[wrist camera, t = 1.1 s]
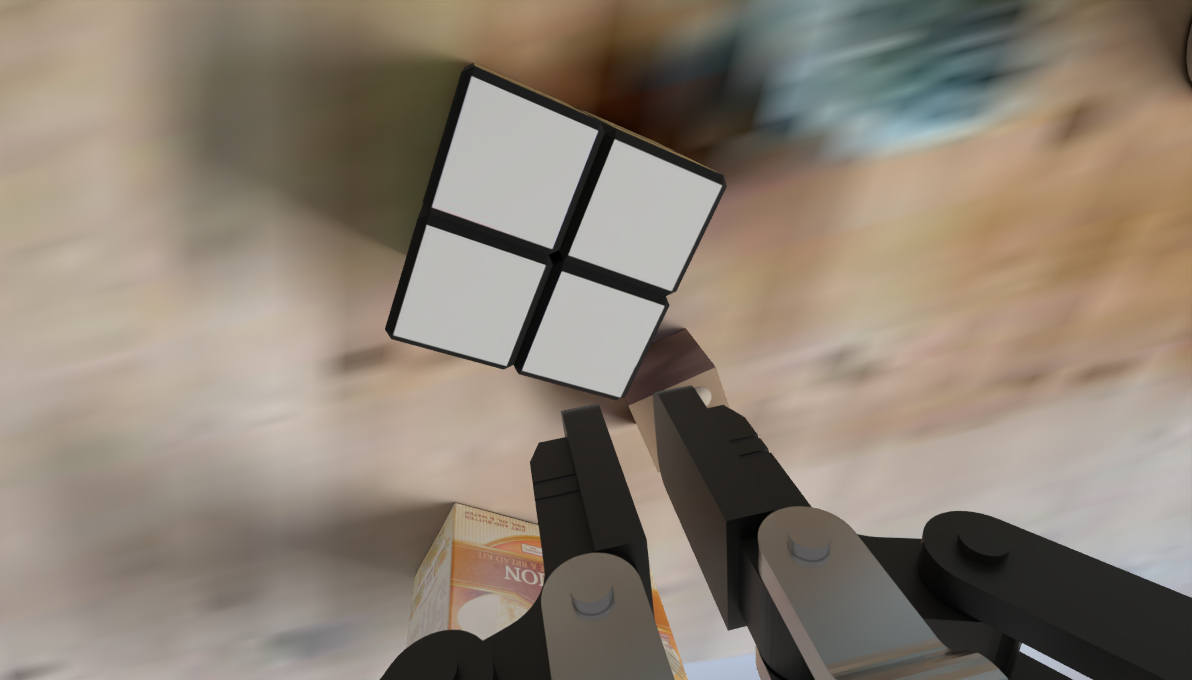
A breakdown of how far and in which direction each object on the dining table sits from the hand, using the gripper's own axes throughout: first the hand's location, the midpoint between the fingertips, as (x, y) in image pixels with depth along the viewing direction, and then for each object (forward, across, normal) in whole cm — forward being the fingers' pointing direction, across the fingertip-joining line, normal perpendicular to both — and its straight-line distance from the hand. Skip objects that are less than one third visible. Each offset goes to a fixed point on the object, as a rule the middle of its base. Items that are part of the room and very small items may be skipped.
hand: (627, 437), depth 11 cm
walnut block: (+21, -6, +12) cm, 25 cm away
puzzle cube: (+21, 0, 0) cm, 21 cm away
